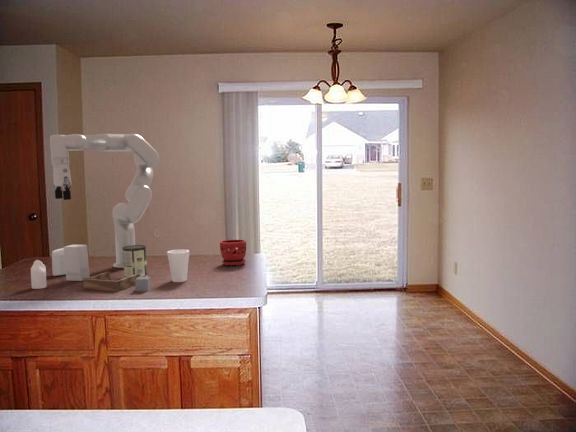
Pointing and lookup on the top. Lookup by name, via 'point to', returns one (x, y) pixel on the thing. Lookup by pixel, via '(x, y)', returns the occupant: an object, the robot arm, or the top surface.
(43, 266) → the white tall rounded piece
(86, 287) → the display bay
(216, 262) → the top surface
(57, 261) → the photo printer
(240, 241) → the plant pot
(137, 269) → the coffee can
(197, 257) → the top surface
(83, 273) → the skincare box
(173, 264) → the foam cup
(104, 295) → the top surface
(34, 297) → the top surface
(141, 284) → the grey block
